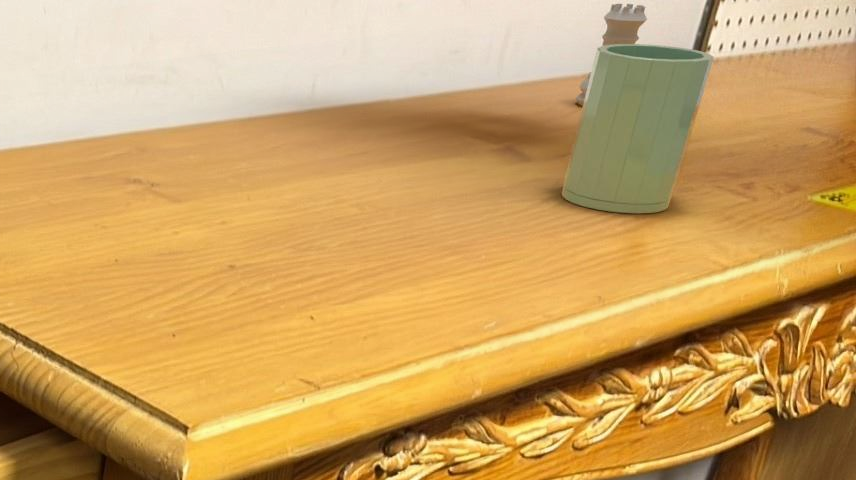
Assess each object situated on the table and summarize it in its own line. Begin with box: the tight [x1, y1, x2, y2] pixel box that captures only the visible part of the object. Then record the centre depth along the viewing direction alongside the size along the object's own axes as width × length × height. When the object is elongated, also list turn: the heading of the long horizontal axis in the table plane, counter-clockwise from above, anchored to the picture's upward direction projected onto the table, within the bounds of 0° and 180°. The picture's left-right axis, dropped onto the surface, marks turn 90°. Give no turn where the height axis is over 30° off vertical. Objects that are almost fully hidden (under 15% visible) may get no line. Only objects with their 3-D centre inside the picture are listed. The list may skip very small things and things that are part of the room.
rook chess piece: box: [575, 3, 648, 107], centre depth 102 cm, size 4×4×8 cm
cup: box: [561, 43, 715, 215], centre depth 76 cm, size 6×6×9 cm
